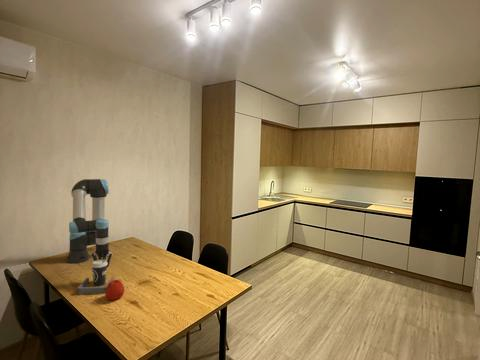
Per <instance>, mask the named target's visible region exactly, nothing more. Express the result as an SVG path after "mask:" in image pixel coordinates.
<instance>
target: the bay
mask: <svg viewBox="0 0 480 360" xmlns="http://www.w3.org/2000/svg"><path fill="white" fill-rule="evenodd" d="M114 277H115V276H112V277H110V279H109V280H108V281H107V283H105V284H104V286H91V287H90V286H89V287H87V286H88V285H89V283H90V277H86V278H85V279H84V280H83V281H82V282H81V283H80V285H78V286H77V287H76V295H88V294H89V295H91V294H94V295H95V294H105V290H106V288H107V286H108V284H109V283H110V282H111V281H113V280H115V279H114Z"/></svg>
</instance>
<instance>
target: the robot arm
mask: <svg viewBox="0 0 480 360" xmlns="http://www.w3.org/2000/svg"><path fill="white" fill-rule="evenodd" d="M71 188H72V189H71V193H70V194H71V197H72V221H70V222H69V223H68V224H69V225H68V226H69V227H68V228H69V229H68V232H69V237H68V239H69V252H68V254H67V257H66V262H67V263H70V264H80V263H84V262H86V261H88V260H90V253H89V250H88V247H89V246H95V251H94V252H93V253H91V257H92V259H93V261H95V260H99V259H104V260H106V261H107V263H108V264H107V268H108V267H110V263H111V260H112V259H111V258H112V257H113V254H114V253H113V252H110V249H109V243H110V242H109V237H110V236H109V226H110V225H109V220H108V219H106V218H105V203H106V201H105V199H106V198H107V195H109V194H110V191H109V190H110V189H109V184H108V181H107V179H106V178H105V179H102V178H93V179H92V178H89V179H87V178H86V179H81V180H78V181H77V182H76V183H75V184H74V185H73V187H71ZM87 195H89V197H90V198H91V201H92V202H91V203H92V204H91V206H92V207H91V215H92V216H91V218H92V219H91V220H87V217H86V197H87ZM107 256H108V257H107Z"/></svg>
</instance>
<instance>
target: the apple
mask: <svg viewBox="0 0 480 360" xmlns="http://www.w3.org/2000/svg"><path fill="white" fill-rule="evenodd" d="M124 294H125V286H124V284H123V282H122V281H121V280H119V279H114V280H113V281H111V282H110V283H109V284H108V286H107V288H106V290H105V293H104V295H105V298H106V299H107V300H110V301H115V300H117V299H120V298H122V297H123V296H124Z"/></svg>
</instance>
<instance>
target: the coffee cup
mask: <svg viewBox="0 0 480 360" xmlns="http://www.w3.org/2000/svg"><path fill="white" fill-rule="evenodd" d="M107 264H108V263H107V259H106V260H104V259H97V260H95V261H94V260H93V261H92V262H91V265H90V267H91V271H92V279H93V281H92V282H93V287H103V286H105V285H106V280H107V278H106V277H107V268H108V267H107Z"/></svg>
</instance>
